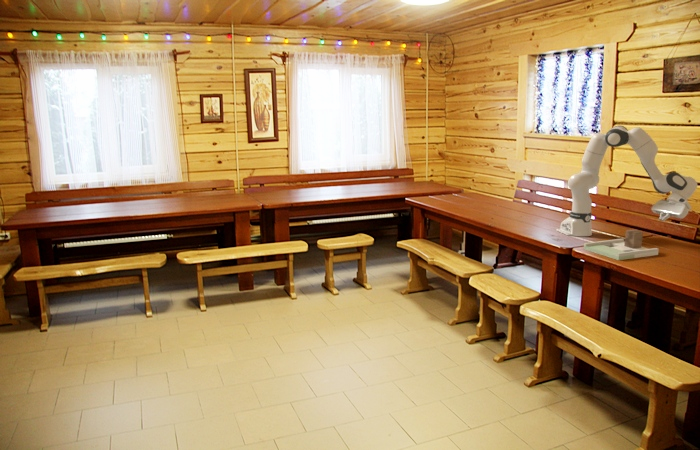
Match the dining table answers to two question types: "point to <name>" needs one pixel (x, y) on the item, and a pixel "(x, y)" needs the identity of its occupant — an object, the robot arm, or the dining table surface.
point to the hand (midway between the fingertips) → (661, 220)
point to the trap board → (618, 249)
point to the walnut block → (633, 238)
